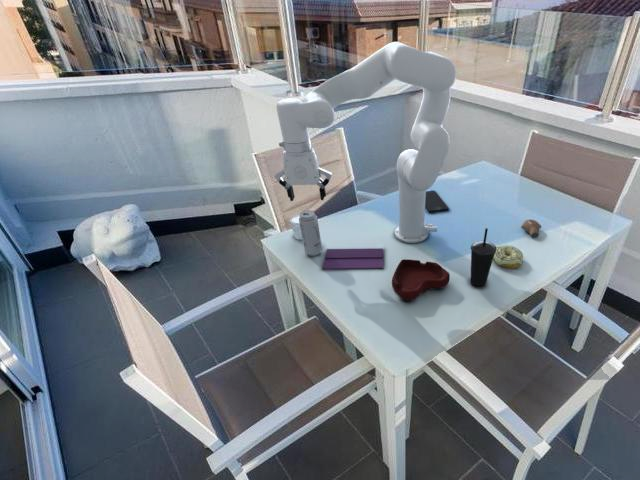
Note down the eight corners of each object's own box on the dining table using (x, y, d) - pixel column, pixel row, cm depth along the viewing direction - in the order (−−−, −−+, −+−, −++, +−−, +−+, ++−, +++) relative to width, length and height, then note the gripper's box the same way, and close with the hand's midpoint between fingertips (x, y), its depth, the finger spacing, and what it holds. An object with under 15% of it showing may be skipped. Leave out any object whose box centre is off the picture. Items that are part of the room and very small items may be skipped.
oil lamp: (515, 234, 148) (535, 241, 144) (517, 226, 145) (537, 233, 141) (526, 222, 153) (545, 229, 149) (527, 214, 150) (547, 221, 146)
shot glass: (307, 241, 141) (304, 224, 136) (289, 239, 142) (286, 222, 137) (314, 232, 146) (312, 215, 142) (297, 230, 147) (294, 213, 143)
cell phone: (429, 213, 158) (429, 211, 158) (416, 194, 172) (416, 192, 171) (449, 210, 161) (449, 208, 160) (434, 192, 174) (434, 190, 173)
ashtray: (424, 262, 131) (424, 250, 128) (453, 288, 120) (454, 276, 117) (378, 279, 124) (377, 267, 120) (405, 308, 113) (405, 296, 110)
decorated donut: (495, 270, 128) (496, 261, 126) (487, 252, 137) (489, 243, 134) (525, 269, 129) (527, 260, 126) (516, 251, 137) (518, 242, 135)
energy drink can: (320, 257, 133) (314, 218, 124) (303, 256, 133) (295, 218, 124) (324, 247, 138) (318, 209, 129) (307, 247, 138) (300, 209, 129)
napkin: (383, 250, 137) (383, 248, 136) (382, 268, 128) (382, 266, 128) (326, 250, 136) (326, 249, 136) (322, 269, 128) (322, 267, 127)
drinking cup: (491, 278, 125) (501, 224, 112) (487, 293, 119) (497, 238, 107) (468, 273, 127) (476, 220, 114) (463, 287, 121) (470, 232, 109)
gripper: (264, 150, 110) (278, 205, 120) (325, 149, 110) (333, 203, 121) (271, 141, 115) (283, 194, 126) (328, 140, 116) (336, 193, 127)
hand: (307, 198), depth 123 cm, fingers open, 9 cm apart
